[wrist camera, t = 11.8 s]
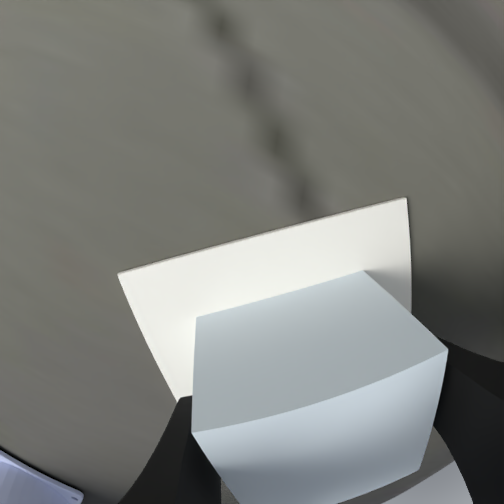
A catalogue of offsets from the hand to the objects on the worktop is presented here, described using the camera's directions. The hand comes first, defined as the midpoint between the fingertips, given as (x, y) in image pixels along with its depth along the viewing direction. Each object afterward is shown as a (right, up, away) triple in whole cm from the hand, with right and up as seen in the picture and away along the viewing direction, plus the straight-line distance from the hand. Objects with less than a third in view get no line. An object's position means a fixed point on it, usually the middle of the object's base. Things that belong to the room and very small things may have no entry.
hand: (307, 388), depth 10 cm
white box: (0, 0, +2) cm, 2 cm away
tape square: (0, +1, +2) cm, 2 cm away
